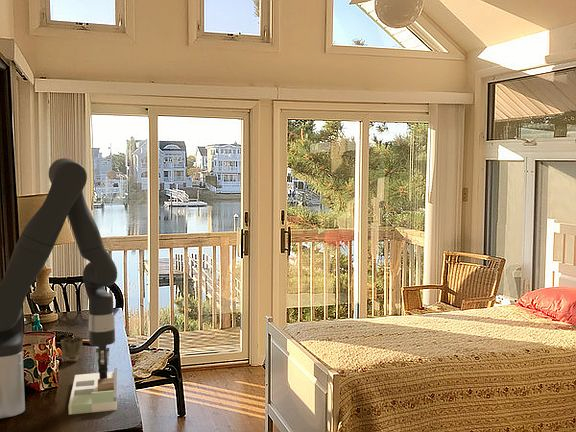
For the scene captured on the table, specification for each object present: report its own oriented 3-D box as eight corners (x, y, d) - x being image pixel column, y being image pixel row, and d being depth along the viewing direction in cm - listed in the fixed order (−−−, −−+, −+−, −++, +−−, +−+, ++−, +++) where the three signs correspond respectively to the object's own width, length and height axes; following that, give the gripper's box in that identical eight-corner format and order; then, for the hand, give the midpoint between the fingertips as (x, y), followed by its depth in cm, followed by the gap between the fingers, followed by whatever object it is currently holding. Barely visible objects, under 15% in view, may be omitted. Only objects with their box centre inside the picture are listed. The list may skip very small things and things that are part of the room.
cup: (60, 364, 226) (59, 342, 225) (62, 359, 233) (61, 337, 232) (82, 363, 228) (82, 340, 227) (83, 357, 235) (83, 335, 234)
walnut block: (113, 392, 190) (113, 382, 190) (97, 393, 189) (97, 384, 189) (113, 387, 195) (113, 377, 194) (98, 388, 194) (97, 379, 193)
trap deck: (116, 409, 183) (116, 390, 183) (68, 414, 180) (68, 395, 180) (117, 378, 210) (116, 362, 210) (75, 382, 207) (74, 365, 207)
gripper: (114, 332, 189) (116, 389, 190) (114, 321, 202) (116, 376, 203) (88, 334, 187) (89, 392, 188) (89, 323, 200) (91, 378, 201)
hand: (103, 383), depth 196 cm, fingers closed
